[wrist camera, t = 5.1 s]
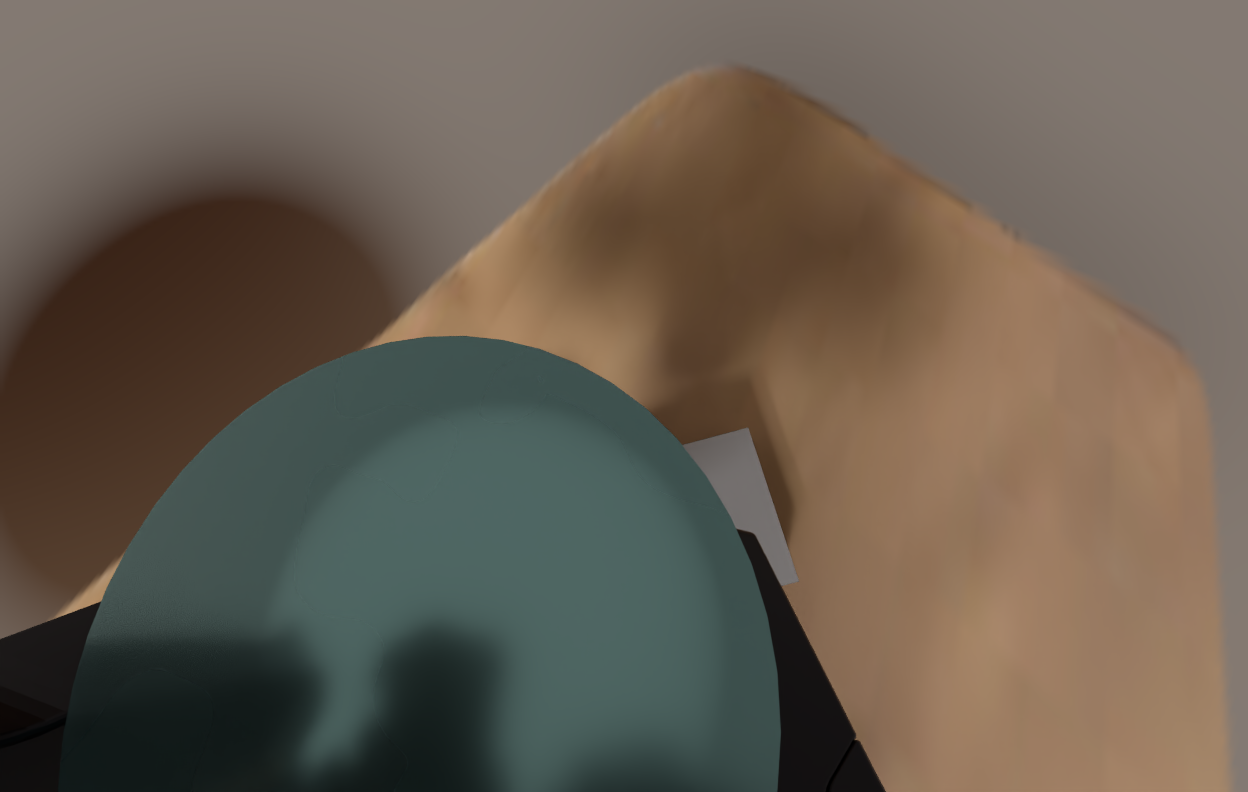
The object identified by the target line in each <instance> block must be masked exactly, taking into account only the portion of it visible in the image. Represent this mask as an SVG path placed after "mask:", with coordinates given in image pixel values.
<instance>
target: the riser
mask: <svg viewBox="0 0 1248 792" xmlns="http://www.w3.org/2000/svg"><path fill="white" fill-rule="evenodd" d="M682 446H683V447H684V448H685V449H686V451H687V452H688V453H689V455H690V456H691V457H692V458H693V460H694V461H695V462H696V463H697V465H698V466H699V467H700V468H701V470H702V471H703V472H704V474H705V475H706V476H707V478H708V480H709V481H710V483H711V485H712V486H713V488H714V490H715V491H716V493H717V495H718V496H719V498H720V500H721V501H722V503H723V505H724V506H725V508H726V510H727V511H728V513H729V515H730V516H731V518H732V521H733V523H734V525H735V528H736V529H740V530H745V531H749V532H752V533H754V534H755V535H756V537H757V539H758V541H759V543H760V545H761V547H762V549H763V551H764V553H765V555H766V557H767V559H768V561H769V563H770V565H771V567H772V569H773V571H774V573H775V575H776V577H777V579H778V581H779V582H780V584H781V586H783V585H787V584H791V583H795V582H799V580H798V577H797V574H796V571H795V568H794V565H793V562H792V559H791V556H790V553H789V549H788V546H787V543H786V540H785V537H784V534H783V531H782V528H781V525H780V522H779V519H778V516H777V513H776V510H775V507H774V504H773V501H772V498H771V495H770V492H769V489H768V486H767V483H766V480H765V477H764V474H763V471H762V468H761V465H760V462H759V459H758V456H757V453H756V450H755V447H754V444H753V441H752V438H751V435H750V431H749V428H745V429H741V430H737V431H733V432H729V433H726V434H722V435H718V436H714V437H711V438H707V439H703V440H699V441H696V442H692V443H688V444H684V445H682Z"/></svg>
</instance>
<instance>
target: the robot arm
mask: <svg viewBox="0 0 1248 792" xmlns="http://www.w3.org/2000/svg"><path fill="white" fill-rule="evenodd" d="M736 530H737V532H738V534H739V537H740V539H741V541H742V543H743V546H744V548H745V550H746V552H747V555H748V557H749V559H750V561H751V564H752V567H753V570H754V573H755V577H756V580H757V583H758V587H759V590H760V593H761V597H762V600H763V603H764V606H765V610H766V613H767V617H768V622H769V628H770V633H771V639H772V645H773V650H774V656H775V662H776V667H777V674H778V692H779V709H780V726H781V738H780V755H779V771H778V788H777V792H886V791H885V789H884V787H883V785H882V784H881V782H880V780H879V778H878V776H877V774H876V772H875V770H874V768H873V766H872V764H871V762H870V760H869V758H868V756H867V754H866V752H865V750H864V748H863V746H862V744H861V742H860V741H858V740H855V738H856V733H855V731H854V729H853V727H852V725H851V723H850V721H849V719H848V717H847V715H846V713H845V711H844V709H843V707H842V705H841V703H840V701H839V699H838V697H837V695H836V693H835V691H834V689H833V687H832V685H831V683H830V681H829V679H828V677H827V675H826V674H825V672H824V670H823V668H822V666H821V664H820V662H819V660H818V658H817V656H816V654H815V652H814V650H813V648H812V646H811V644H810V642H809V640H808V638H807V636H806V634H805V632H804V630H803V628H802V626H801V624H800V622H799V620H798V618H797V616H796V614H795V612H794V610H793V608H792V606H791V604H790V602H789V600H788V598H787V596H786V594H785V592H784V590H783V588H782V586H781V584H780V582H779V581H778V579H777V577H776V575H775V573H774V571H773V569H772V567H771V565H770V563H769V561H768V559H767V557H766V555H765V553H764V551H763V549H762V547H761V545H760V543H759V541H758V539H757V537H756V535H755V534H754V533H752V532H749V531H745V530H740V529H736ZM100 604H101V602H99V603H96V604H93V605H91V606H88V607H85V608H83V609H80V610H77V611H75V612H72V613H69V614H66V615H64V616H61V617H58V618H56V619H53V620H50V621H48V622H45V623H42V624H40V625H37V626H34V627H32V628H29V629H26V630H24V631H21V632H18V633H16V634H13V635H11V636H8V637H5V638H2V639H0V792H58V784H59V773H60V763H61V752H62V742H63V733H64V728H65V723H66V718H67V713H68V708H69V703H70V698H71V693H72V688H73V683H74V680H75V676H76V673H77V670H78V666H79V663H80V660H81V656H82V653H83V650H84V646H85V643H86V640H87V636H88V633H89V631H90V628H91V626H92V623H93V621H94V618H95V616H96V614H97V611H98V609H99V606H100ZM854 740H855V741H854Z"/></svg>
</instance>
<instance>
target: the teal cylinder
mask: <svg viewBox="0 0 1248 792" xmlns="http://www.w3.org/2000/svg"><path fill="white" fill-rule="evenodd" d="M780 738H781V726H780V709H779V692H778V674H777V667H776V662H775V656H774V650H773V645H772V639H771V633H770V628H769V622H768V617H767V613H766V610H765V606H764V603H763V600H762V597H761V593H760V590H759V587H758V583H757V580H756V577H755V573H754V570H753V567H752V564H751V561H750V559H749V557H748V555H747V552H746V550H745V548H744V546H743V543H742V541H741V539H740V537H739V534H738V532H737V530H736V528H735V525H734V523H733V521H732V518H731V516H730V515H729V513H728V511H727V510H726V508H725V506H724V505H723V503H722V501H721V500H720V498H719V496H718V495H717V493H716V491H715V490H714V488H713V486H712V485H711V483H710V481H709V480H708V478H707V476H706V475H705V474H704V472H703V471H702V470H701V468H700V467H699V466H698V465H697V463H696V462H695V461H694V460H693V458H692V457H691V456H690V455H689V453H688V452H687V451H686V449H685V448H684V447H683V446H682V444H681V443H680V442H679V441H678V439H677V438H676V437H675V436H674V435H673V434H672V433H671V432H670V431H669V430H668V429H667V428H666V427H665V426H663V425H662V424H661V423H660V422H659V421H658V420H657V419H656V418H655V417H654V416H653V415H652V414H651V413H650V412H649V411H648V410H647V409H646V408H645V407H643V406H642V405H641V404H639V403H638V402H637V401H635V400H634V399H633V398H631V397H630V396H629V395H627V394H626V393H625V392H623V391H622V390H621V389H619V388H618V387H617V386H615V385H614V384H613V383H611V382H609V381H607V380H606V379H604V378H602V377H600V376H598V375H597V374H595V373H593V372H591V371H589V370H588V369H586V368H584V367H582V366H580V365H579V364H577V363H574V362H572V361H569V360H567V359H564V358H562V357H559V356H556V355H554V354H551V353H549V352H546V351H544V350H541V349H537V348H533V347H529V346H525V345H521V344H517V343H513V342H509V341H505V340H498V339H488V338H479V337H469V336H443V337H423V338H416V339H409V340H402V341H396V342H389V343H385V344H382V345H378V346H375V347H371V348H367V349H364V350H360V351H356V352H353V353H350V354H348V355H345V356H343V357H340V358H338V359H335V360H333V361H331V362H328V363H325V364H323V365H320V366H318V367H315V368H314V369H312V370H310V371H308V372H306V373H304V374H302V375H301V376H299V377H297V378H295V379H293V380H292V381H290V382H288V383H286V384H284V385H282V386H280V387H279V388H277V389H276V390H275V391H273V392H272V393H270V394H269V395H267V396H266V397H264V398H263V399H261V400H260V401H259V402H257V403H256V404H254V405H253V406H251V407H250V408H248V409H247V410H246V411H244V412H243V413H242V414H241V415H240V416H238V417H237V418H236V419H235V420H234V421H233V422H231V423H230V424H229V425H228V426H227V427H226V428H224V429H223V430H222V431H221V432H220V433H218V434H217V435H216V436H215V437H214V438H213V439H212V440H211V441H210V442H209V443H208V444H207V445H206V446H205V447H204V448H203V449H202V450H201V451H200V452H199V453H198V454H197V456H196V457H195V458H194V459H193V460H192V461H191V462H190V463H189V464H188V465H187V466H186V467H185V468H184V469H183V470H182V471H181V473H180V474H179V475H178V477H177V478H176V479H175V480H174V482H173V483H172V484H171V485H170V487H169V488H168V489H167V490H166V492H165V493H164V494H163V495H162V497H161V498H160V499H159V501H158V502H157V503H156V504H155V506H154V507H153V509H152V510H151V512H150V513H149V515H148V517H147V518H146V520H145V521H144V523H143V524H142V526H141V527H140V529H139V530H138V532H137V534H136V535H135V537H134V538H133V540H132V541H131V543H130V544H129V546H128V548H127V550H126V552H125V554H124V556H123V558H122V560H121V562H120V564H119V566H118V567H117V569H116V571H115V573H114V575H113V577H112V579H111V581H110V583H109V585H108V587H107V589H106V591H105V594H104V596H103V599H102V601H101V604H100V606H99V609H98V611H97V614H96V616H95V618H94V621H93V623H92V626H91V628H90V631H89V633H88V636H87V640H86V643H85V646H84V650H83V653H82V656H81V660H80V663H79V666H78V670H77V673H76V676H75V680H74V683H73V688H72V693H71V698H70V703H69V708H68V713H67V718H66V723H65V728H64V733H63V742H62V752H61V763H60V773H59V784H58V792H777V788H778V771H779V755H780Z"/></svg>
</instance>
